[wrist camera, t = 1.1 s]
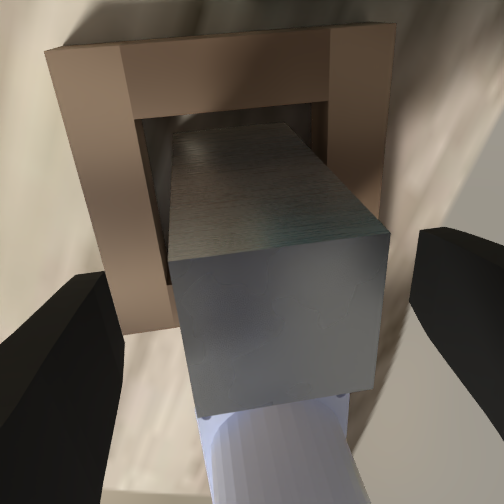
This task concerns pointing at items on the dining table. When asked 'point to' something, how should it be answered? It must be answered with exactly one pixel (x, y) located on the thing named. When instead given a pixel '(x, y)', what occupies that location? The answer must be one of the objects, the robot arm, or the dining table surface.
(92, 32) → the dining table surface
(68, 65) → the socket block
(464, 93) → the dining table surface
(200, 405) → the peg
